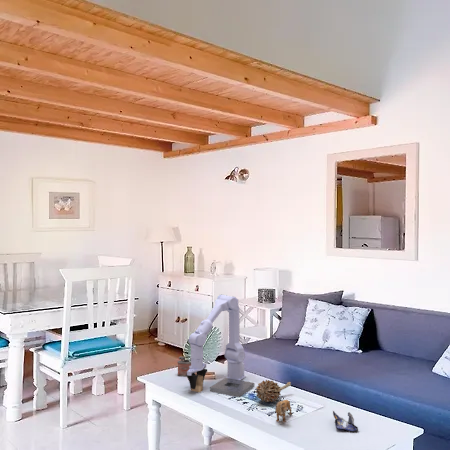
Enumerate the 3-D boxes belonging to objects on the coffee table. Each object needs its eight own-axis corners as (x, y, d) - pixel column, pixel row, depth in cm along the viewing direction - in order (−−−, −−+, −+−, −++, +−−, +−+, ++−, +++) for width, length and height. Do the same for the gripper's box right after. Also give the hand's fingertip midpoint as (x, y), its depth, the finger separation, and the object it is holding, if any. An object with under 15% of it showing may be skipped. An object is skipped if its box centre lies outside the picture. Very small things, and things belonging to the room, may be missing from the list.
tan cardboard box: (194, 388, 236) (194, 374, 236) (202, 390, 234) (202, 375, 233) (190, 390, 233) (190, 376, 233) (199, 392, 231) (199, 377, 231)
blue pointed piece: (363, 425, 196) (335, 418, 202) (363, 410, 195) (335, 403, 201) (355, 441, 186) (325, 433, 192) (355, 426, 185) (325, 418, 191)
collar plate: (225, 381, 246) (225, 377, 246) (254, 386, 239) (254, 382, 239) (209, 391, 232) (209, 387, 232) (239, 397, 225) (239, 392, 225)
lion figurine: (286, 426, 193) (287, 404, 193) (273, 424, 195) (273, 402, 195) (292, 412, 207) (293, 391, 207) (280, 411, 209) (280, 390, 209)
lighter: (193, 374, 257) (193, 356, 257) (192, 377, 253) (192, 357, 253) (178, 374, 258) (178, 355, 258) (176, 376, 254) (176, 357, 254)
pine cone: (267, 409, 211) (267, 386, 211) (250, 403, 217) (250, 381, 217) (297, 396, 227) (297, 374, 227) (280, 391, 233) (280, 370, 233)
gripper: (197, 353, 242) (197, 380, 242) (181, 360, 229) (181, 389, 229) (210, 355, 238) (209, 383, 238) (194, 362, 225) (194, 392, 226)
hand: (196, 386), depth 233 cm, fingers open, 6 cm apart
